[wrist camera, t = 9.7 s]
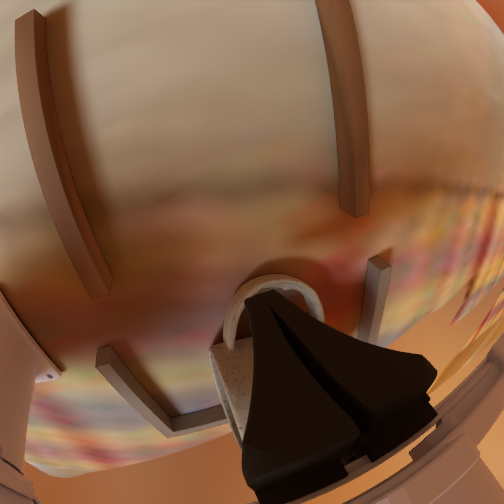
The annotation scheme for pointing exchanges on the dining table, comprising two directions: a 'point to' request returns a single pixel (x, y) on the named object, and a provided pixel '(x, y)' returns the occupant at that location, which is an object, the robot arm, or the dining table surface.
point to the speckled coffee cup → (247, 349)
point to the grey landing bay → (216, 416)
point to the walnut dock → (58, 171)
